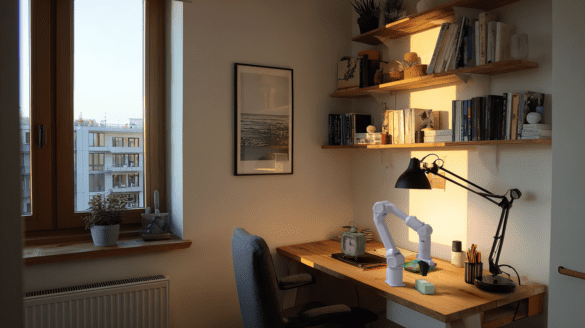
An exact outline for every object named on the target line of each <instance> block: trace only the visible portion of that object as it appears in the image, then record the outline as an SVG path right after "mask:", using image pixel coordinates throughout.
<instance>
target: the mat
mask: <svg viewBox="0 0 585 328" xmlns="http://www.w3.org/2000/svg"><path fill="white" fill-rule="evenodd" d="M412 289H413V290H415V291H417V292H418V293H419V294H421V295H425V294H424V293H422V292H421V291H420V290H418V289H417V288H415V286H413V287H412ZM433 295H436V292H435V291H434V294H433Z"/></svg>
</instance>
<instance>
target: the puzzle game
mask: <svg viewBox="0 0 585 328" xmlns="http://www.w3.org/2000/svg"><path fill="white" fill-rule="evenodd" d="M417 261H420V260H419V259H418V258H416V259H414V260H410V261H405V262H404V264H403V270H405V271H410V272H413V273H417V274H418V273H420V274H421V270H420V267H419V264H418V263H417ZM437 266H438V263H437V262H434V265H431V266H430V268H429V270H428V271H431V270H434V269H436V267H437Z"/></svg>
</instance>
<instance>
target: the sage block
mask: <svg viewBox="0 0 585 328" xmlns="http://www.w3.org/2000/svg"><path fill="white" fill-rule="evenodd" d="M414 285H415V286H414V287H415V288H417V289H418V290H420V291H421V292H422V293H424V294H423V295H435V294H434V292H435V285H434V284H433V283H431V282H429V281H428V280H427V279H422V278H421V279H415V283H414Z"/></svg>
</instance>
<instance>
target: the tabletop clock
mask: <svg viewBox="0 0 585 328" xmlns="http://www.w3.org/2000/svg"><path fill="white" fill-rule="evenodd" d="M351 223H355V224H356V226H355V225H353V224H352V225H351ZM349 226H350V227H351V228H350V229H349V231H343V232H341V236H340V250H341V253H343V254H344V256H350V257H355V256H356V259H357V260H358V256H361V255H364V254H365V252H366V247H367V244H366V241H367V240H366V235H365V234H364V233H362V232H359V231H358V230H357V229H358V228H357V227H358V223H357V222H356V221H355V220H351V221H350V222H349ZM356 259H355V260H356Z"/></svg>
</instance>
